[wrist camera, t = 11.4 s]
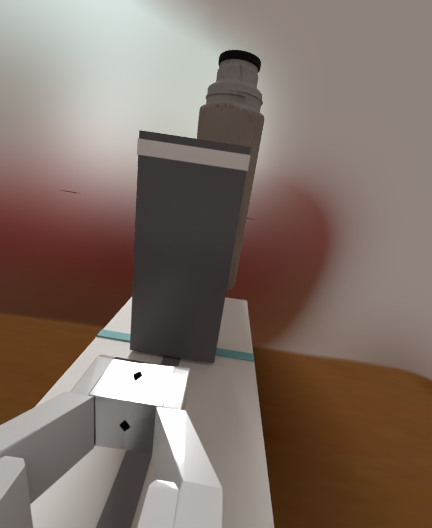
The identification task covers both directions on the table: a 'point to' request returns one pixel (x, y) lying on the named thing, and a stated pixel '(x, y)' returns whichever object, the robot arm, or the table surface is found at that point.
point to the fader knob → (184, 242)
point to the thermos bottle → (235, 123)
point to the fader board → (203, 419)
